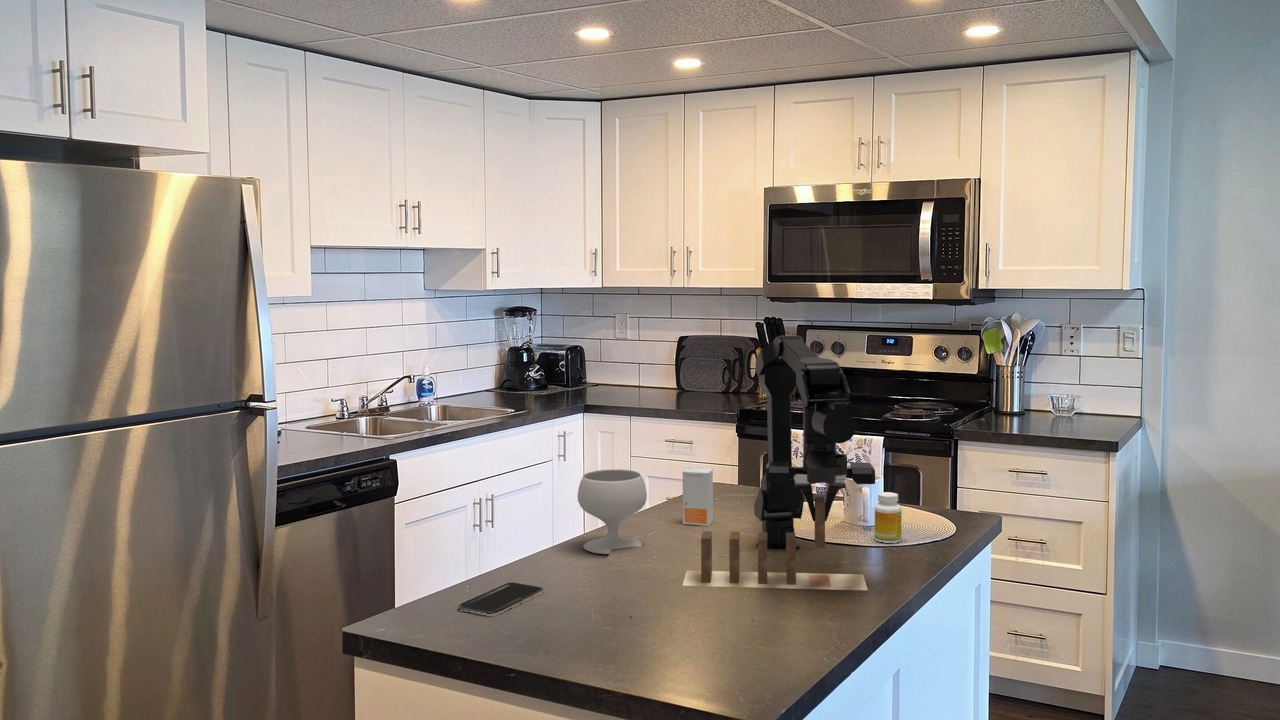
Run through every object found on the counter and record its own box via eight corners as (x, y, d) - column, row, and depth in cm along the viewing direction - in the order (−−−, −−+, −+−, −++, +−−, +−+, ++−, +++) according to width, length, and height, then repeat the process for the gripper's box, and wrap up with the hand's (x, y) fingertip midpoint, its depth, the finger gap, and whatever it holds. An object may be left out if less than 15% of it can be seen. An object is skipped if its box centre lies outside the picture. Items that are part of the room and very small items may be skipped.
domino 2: (729, 583, 186) (729, 538, 186) (730, 574, 191) (730, 531, 190) (738, 583, 186) (738, 539, 185) (739, 574, 191) (739, 531, 190)
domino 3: (758, 583, 186) (757, 539, 185) (758, 575, 191) (758, 532, 190) (767, 584, 185) (767, 539, 185) (767, 575, 190) (767, 532, 190)
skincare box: (682, 525, 231) (681, 471, 230) (687, 520, 235) (686, 467, 234) (709, 526, 229) (708, 472, 228) (713, 521, 233) (713, 468, 232)
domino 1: (701, 582, 187) (700, 538, 186) (703, 574, 192) (702, 531, 191) (710, 582, 187) (710, 538, 186) (712, 574, 192) (711, 531, 191)
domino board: (682, 591, 185) (682, 585, 185) (686, 575, 194) (686, 570, 194) (867, 595, 181) (867, 590, 181) (863, 579, 190) (863, 574, 190)
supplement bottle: (901, 544, 213) (902, 497, 212) (874, 543, 214) (874, 496, 213) (900, 537, 218) (901, 491, 217) (874, 536, 219) (874, 490, 218)
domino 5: (815, 548, 183) (815, 503, 182) (814, 540, 188) (814, 496, 187) (825, 548, 183) (825, 503, 182) (823, 540, 188) (823, 496, 187)
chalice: (629, 535, 223) (627, 465, 222) (659, 551, 211) (658, 477, 209) (568, 544, 217) (566, 472, 216) (595, 561, 205) (594, 485, 203)
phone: (455, 606, 177) (510, 581, 190) (456, 612, 177) (510, 587, 190) (492, 613, 173) (545, 588, 186) (493, 620, 173) (546, 594, 186)
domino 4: (786, 584, 185) (786, 540, 184) (786, 576, 190) (786, 532, 189) (795, 584, 185) (795, 540, 184) (795, 576, 190) (795, 532, 189)
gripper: (765, 441, 177) (765, 531, 179) (878, 442, 175) (878, 533, 177) (766, 430, 188) (766, 515, 190) (872, 430, 186) (871, 517, 188)
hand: (819, 520), depth 186 cm, fingers closed on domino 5, 2 cm apart
